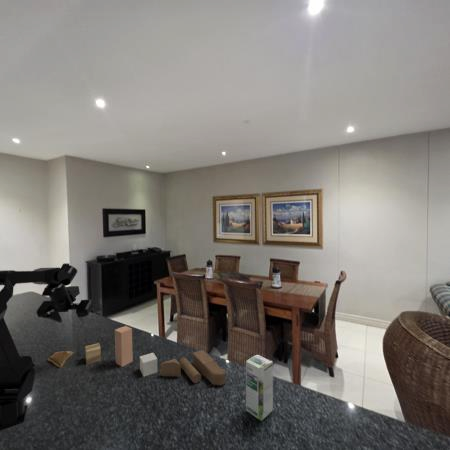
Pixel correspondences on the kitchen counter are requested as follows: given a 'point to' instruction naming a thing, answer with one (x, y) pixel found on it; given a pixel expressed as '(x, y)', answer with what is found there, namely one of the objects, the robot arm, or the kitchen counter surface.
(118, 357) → the terracotta block
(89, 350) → the honey oak cube
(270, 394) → the syrup box
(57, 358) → the shard
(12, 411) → the robot arm
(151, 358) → the grey plastic cube
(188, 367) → the wooden block set
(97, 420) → the kitchen counter surface
